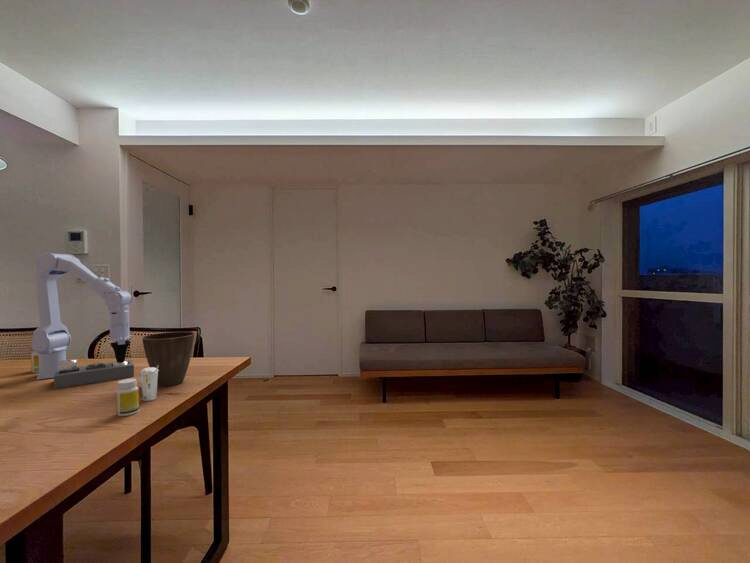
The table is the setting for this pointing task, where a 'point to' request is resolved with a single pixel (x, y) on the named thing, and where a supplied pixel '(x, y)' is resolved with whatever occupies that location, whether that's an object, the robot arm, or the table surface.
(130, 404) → the supplement bottle
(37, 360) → the supplement bottle
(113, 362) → the knob
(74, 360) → the knob
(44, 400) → the table surface
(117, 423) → the table surface
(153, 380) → the milkshake
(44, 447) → the table surface
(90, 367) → the knob middle
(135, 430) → the table surface
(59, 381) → the control panel
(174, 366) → the plant pot
